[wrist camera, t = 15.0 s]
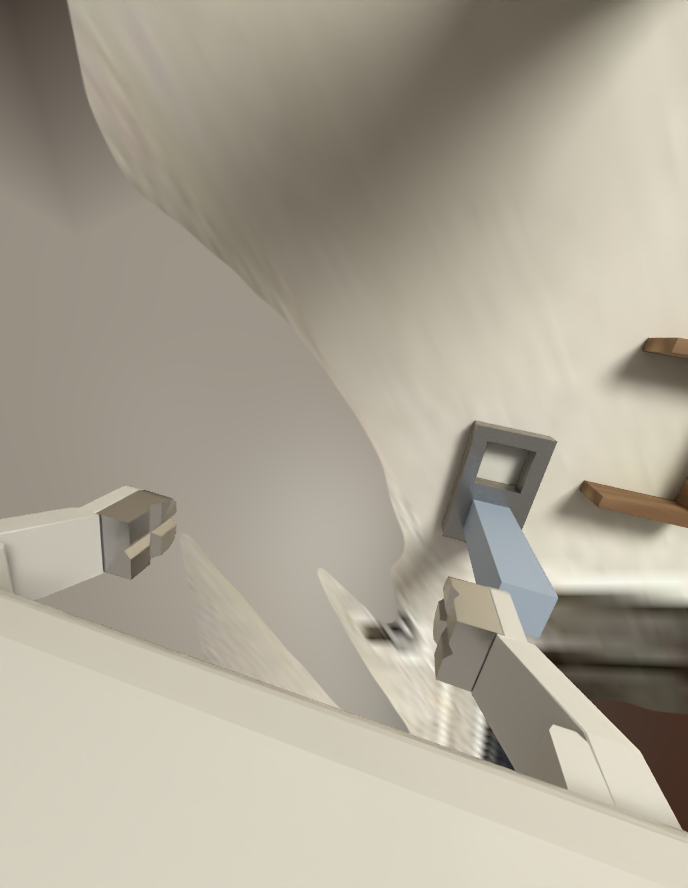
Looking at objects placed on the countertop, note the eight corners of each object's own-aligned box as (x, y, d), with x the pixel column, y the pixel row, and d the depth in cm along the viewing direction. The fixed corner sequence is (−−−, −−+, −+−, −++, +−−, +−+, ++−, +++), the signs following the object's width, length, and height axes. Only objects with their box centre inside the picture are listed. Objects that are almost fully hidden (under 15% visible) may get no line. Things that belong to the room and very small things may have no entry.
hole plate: (474, 420, 38) (477, 424, 36) (549, 436, 36) (557, 441, 35) (441, 527, 42) (442, 535, 40) (507, 544, 41) (512, 553, 39)
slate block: (473, 499, 38) (501, 582, 25) (509, 508, 38) (558, 597, 25) (463, 529, 40) (485, 622, 26) (498, 538, 39) (538, 638, 26)
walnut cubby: (648, 338, 32) (678, 337, 28) (770, 358, 31) (819, 360, 27) (580, 490, 37) (598, 506, 34) (681, 513, 36) (712, 533, 32)
